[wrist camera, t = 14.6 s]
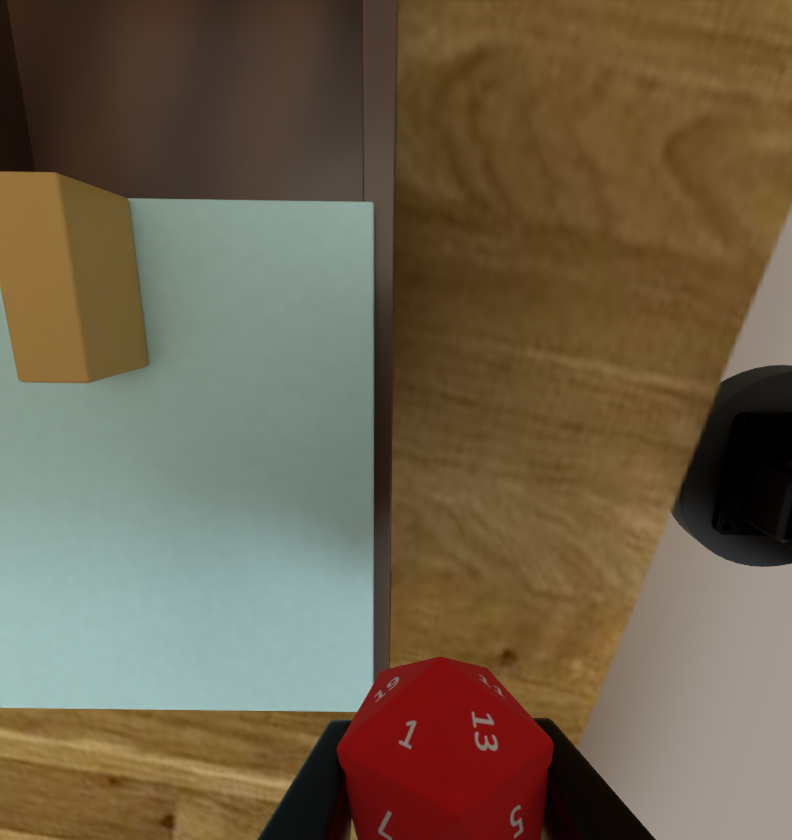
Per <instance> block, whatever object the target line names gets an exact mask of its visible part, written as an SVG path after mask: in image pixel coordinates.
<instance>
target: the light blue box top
mask: <svg viewBox="0 0 792 840" xmlns="http://www.w3.org/2000/svg"><path fill="white" fill-rule="evenodd" d="M373 684H374V204H373V202H353V201H283V200H213V199H143V198H125V197H123V196H120V195H117V194H114V193H112V192H109V191H106V190H103V189H100V188H98V187H95V186H92V185H89V184H86V183H84V182H81V181H78V180H75V179H72V178H70V177H67V176H64V175H61V174H59V173H56V172H11V171H0V708H71V709H160V710H248V711H337V712H358V710H359V708H360V706H361V705H362V703H363V701H364V699H365V698H366V696H367V694H368V693H369V691H370V689H371V687H372V686H373Z"/></svg>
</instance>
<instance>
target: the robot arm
mask: <svg viewBox="0 0 792 840" xmlns="http://www.w3.org/2000/svg"><path fill="white" fill-rule="evenodd" d="M746 419H748V422H747V424H746V425H745V426H743V423H744V421H745V420H746ZM725 522H726V524H725V526H723V527H722V524H723V523H725ZM712 527H713V529H714V530H716V531H717V532H718V533H720V534H722V535H755V536H770V537H771V538H773V539H774V540H776V541H778V542H782V543H783V544H785V545H786V546H788V547H789V548H791V549H792V412H740V413H738V414H737V415H736V416H735V417H734V419H733V421H732V426H731V431H730V436H729V441H728V446H727V451H726V455H725V458H724V463H723V468H722V473H721V477H720V482H719V487H718V492H717V497H716V505H715V510H714V514H713V519H712ZM533 719H534V721H535V722H536V723H537V724H538V725H539V726H540V727H541V728H542V729H543V730H544V732H545V733H546V734H547V735H548V736H549V737H550V738H551V739H552V741H553V745H554V747H553V754H552V761H551V764H550V766H549V767H548V789H547V796H546V804H545V811H544V818H543V825H542V832H541V839H540V840H656V839H654V837H653V836H652V835H651V834H650V833H649V831H648V830H647V829H646V828H645V827H644V826H643V825H642V823H641V822H640V821H639V820H638V819H637V818H636V817H635V815H634V814H633V813H632V812H631V811H630V810H629V809H628V807H627V806H626V805H625V804H624V803H623V802H622V800H621V799H620V798H619V797H618V796H617V795H616V794H615V792H614V791H613V790H612V789H611V788H610V787H609V786H608V784H607V783H606V782H605V781H604V780H603V778H602V777H601V776H600V775H599V774H598V773H597V772H596V771H595V769H594V768H593V767H592V766H591V765H590V763H589V762H588V761H587V760H586V759H585V758H584V757H583V755H581V753H580V752H579V751H578V750H577V748H576V747H575V746H574V745H573V744H572V743H571V742H570V740H569V739H568V738H567V737H566V736H565V735H564V734H563V732H562V731H561V730H560V729H559V728H558V727H557V725H556V724H555V723H554V722H553V721H552V720H550V719H549V718H533ZM351 722H352V721H351V720H332V721H330V722H329V724H328V725H327V727H326V728H325V730H324V732H323V733H322V735H321V736H320V738H319V740H318V741H317V743H316V745H315V746H314V748H313V750H312V751H311V753H310V754H309V756H308V758H307V759H306V761H305V763H304V764H303V766H302V768H301V769H300V771H299V772H298V774H297V776H296V777H295V779H294V781H293V782H292V784H291V786H290V787H289V789H288V790H287V792H286V794H285V795H284V797H283V799H282V800H281V802H280V804H279V805H278V807H277V808H276V810H275V812H274V813H273V815H272V817H271V818H270V820H269V822H268V823H267V825H266V826H265V828H264V830H263V831H262V833H261V835H260V836H259V838H258V840H350V836H351V819H352V815H351V810H350V806H349V801H348V796H347V791H346V775H345V771H344V769H343V768H342V767H341V766H340V763H339V759H338V755H337V746H338V744H339V743H340V741H341V739H342V737H343V736H344V734H345V732H346V731H347V729H348V727H349V725H350V724H351Z"/></svg>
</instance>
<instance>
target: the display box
mask: <svg viewBox="0 0 792 840" xmlns="http://www.w3.org/2000/svg"><path fill="white" fill-rule="evenodd" d="M397 60H398V0H0V171H11V172H56V173H59V174H61V175H64V176H67V177H70V178H72V179H75V180H78V181H81V182H84V183H86V184H89V185H92V186H95V187H98V188H100V189H103V190H106V191H109V192H112V193H114V194H117V195H120V196H123V197H125V198H143V199H213V200H283V201H353V202H373V204H374V682H375V680H376V679H377V677H378V675H379V674H380V672H381V671H383V670H386V669H390V620H391V494H392V416H393V384H394V308H395V225H396V143H397Z"/></svg>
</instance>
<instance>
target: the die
mask: <svg viewBox="0 0 792 840" xmlns="http://www.w3.org/2000/svg"><path fill="white" fill-rule="evenodd" d="M553 747H554V745H553V741H552V739H551V738H550V737H549V736H548V735H547V734H546V733H545V732H544V730H543V729H542V728H541V727H540V726H539V725H538V724H537V723H536V722H535V721H534V719H533V718H532V717H531V716H530V715H529V714H528V713H527V712H526V711H525V709H524V708H523V707H522V706H521V705H520V704H519V703H518V702H517V701H516V700H515V698H514V697H513V696H512V695H511V694H510V693H509V692H508V691H507V690H506V689H505V687H504V686H503V685H502V684H501V683H500V682H499V681H498V680H497V679H496V678H495V676H494V675H493V674H492V673H491V672H490V671H489V670H488V669H487V668H484V667H480V666H476V665H472V664H468V663H464V662H460V661H456V660H452V659H448V658H444V657H437V658H433V659H428V660H424V661H420V662H416V663H412V664H407V665H403V666H399V667H395V668H391V669H386V670H383V671H381V672H380V674H379V675H378V677H377V679H376V680H375V682H374V684H373V686H372V687H371V689H370V691H369V693H368V694H367V696H366V698H365V699H364V701H363V703H362V705H361V706H360V708H359V710H358V712H357V713H356V715H355V717H354V718H353V720H352V722H351V724H350V725H349V727H348V729H347V731H346V732H345V734H344V736H343V737H342V739H341V741H340V743H339V744H338V746H337V755H338V759H339V763H340V766H341V767H342V768H343V769H344V771H345V775H346V791H347V796H348V801H349V806H350V810H351V815H352V820H353V824H354V827H355V831H356V835H357V839H358V840H540V839H541V832H542V825H543V818H544V811H545V804H546V796H547V789H548V767H549V766H550V764H551V761H552V754H553Z"/></svg>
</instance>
